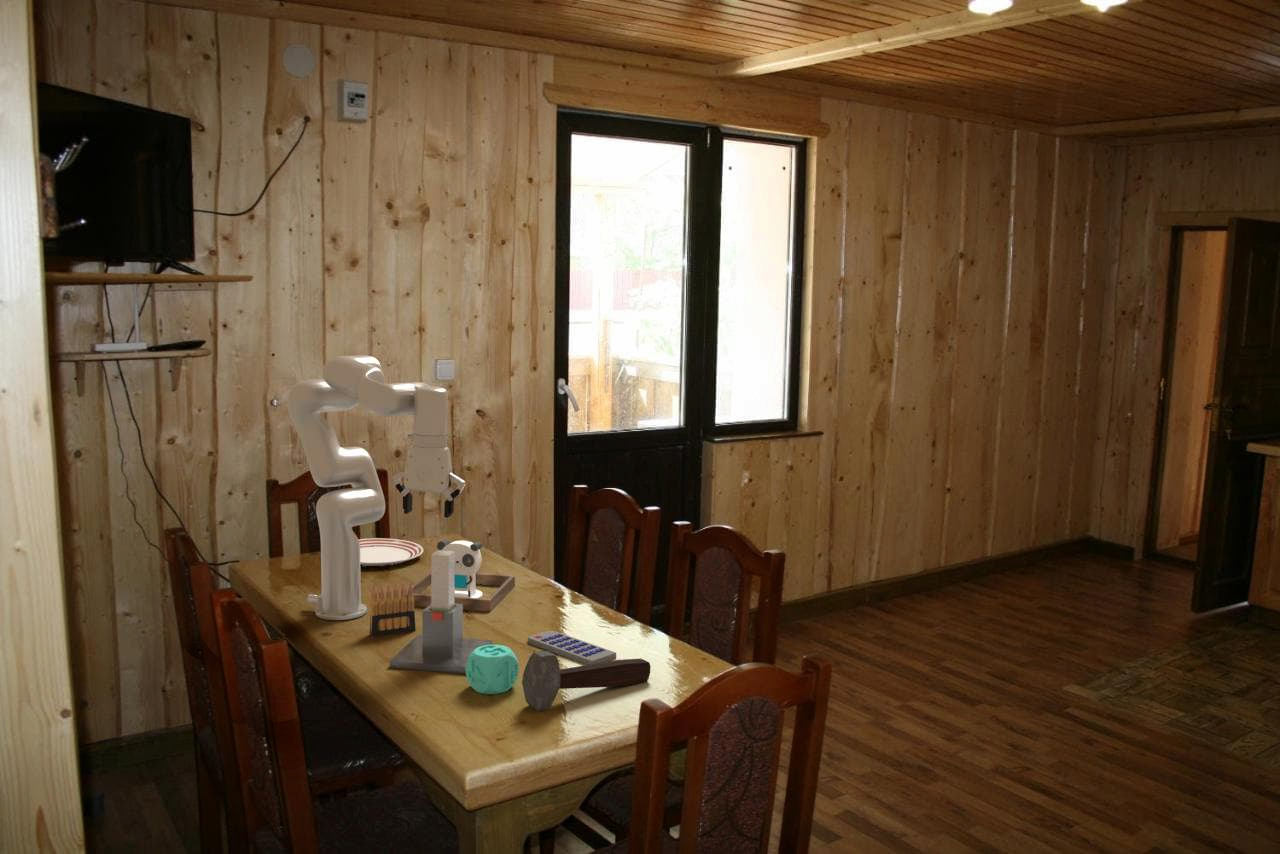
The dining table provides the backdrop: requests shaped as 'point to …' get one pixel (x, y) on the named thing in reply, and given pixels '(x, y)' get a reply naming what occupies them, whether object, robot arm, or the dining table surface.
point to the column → (442, 580)
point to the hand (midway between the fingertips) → (428, 514)
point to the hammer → (576, 677)
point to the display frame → (468, 603)
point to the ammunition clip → (392, 612)
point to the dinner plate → (387, 551)
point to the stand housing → (439, 644)
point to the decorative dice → (492, 669)
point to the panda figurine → (464, 566)
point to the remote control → (571, 647)
